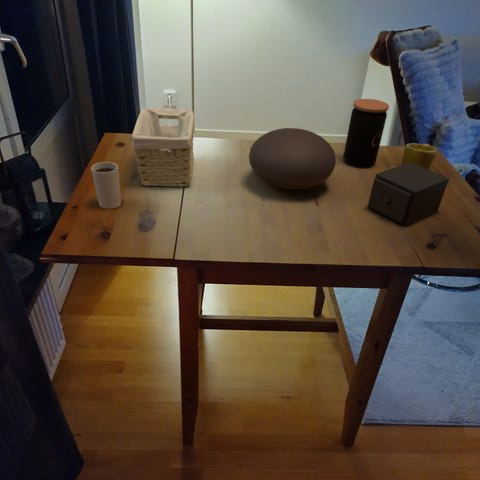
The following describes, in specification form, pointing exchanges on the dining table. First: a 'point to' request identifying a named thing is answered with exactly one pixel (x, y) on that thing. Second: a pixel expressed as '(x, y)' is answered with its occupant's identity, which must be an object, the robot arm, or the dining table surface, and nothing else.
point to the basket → (164, 147)
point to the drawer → (389, 200)
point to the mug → (419, 155)
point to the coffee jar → (365, 132)
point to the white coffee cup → (107, 184)
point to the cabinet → (417, 189)
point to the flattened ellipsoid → (292, 158)
